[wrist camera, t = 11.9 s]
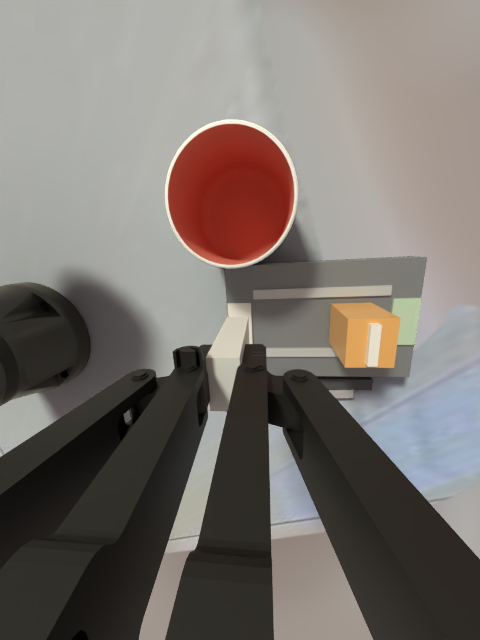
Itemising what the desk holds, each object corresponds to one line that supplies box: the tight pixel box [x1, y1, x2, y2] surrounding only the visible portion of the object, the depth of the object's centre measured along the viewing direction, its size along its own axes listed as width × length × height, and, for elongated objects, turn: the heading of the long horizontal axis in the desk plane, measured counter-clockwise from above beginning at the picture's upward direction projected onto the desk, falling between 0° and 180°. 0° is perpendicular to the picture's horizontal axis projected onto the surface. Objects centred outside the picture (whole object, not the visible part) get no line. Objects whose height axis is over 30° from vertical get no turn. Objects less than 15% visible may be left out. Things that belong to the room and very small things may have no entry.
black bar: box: [278, 376, 373, 390], centre depth 31 cm, size 16×1×1 cm, turn 93°
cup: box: [165, 119, 299, 269], centre depth 23 cm, size 10×10×10 cm
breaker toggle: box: [329, 302, 401, 368], centre depth 23 cm, size 4×4×7 cm
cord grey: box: [328, 389, 354, 398], centre depth 32 cm, size 14×1×1 cm, turn 96°
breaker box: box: [225, 256, 427, 377], centre depth 28 cm, size 20×13×3 cm, turn 93°
